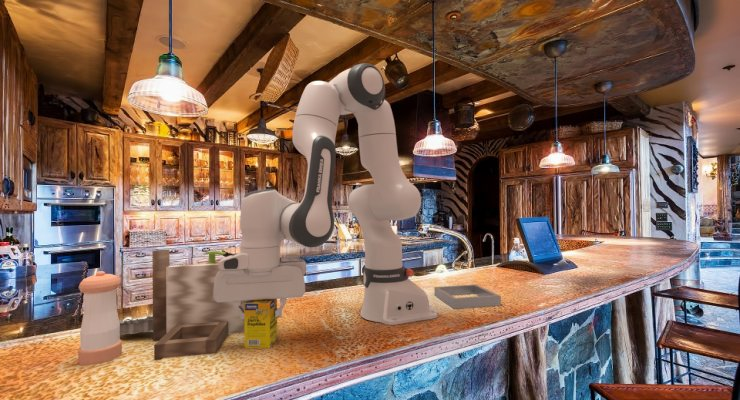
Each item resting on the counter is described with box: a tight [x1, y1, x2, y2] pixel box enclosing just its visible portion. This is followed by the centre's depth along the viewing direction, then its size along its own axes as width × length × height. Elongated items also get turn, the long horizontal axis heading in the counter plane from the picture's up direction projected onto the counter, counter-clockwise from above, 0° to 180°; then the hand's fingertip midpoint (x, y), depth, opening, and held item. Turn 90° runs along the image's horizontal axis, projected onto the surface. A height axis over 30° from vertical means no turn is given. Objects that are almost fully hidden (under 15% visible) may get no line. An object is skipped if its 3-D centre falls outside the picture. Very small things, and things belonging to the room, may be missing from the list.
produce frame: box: [433, 284, 502, 310], centre depth 113 cm, size 16×16×3 cm
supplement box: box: [243, 299, 278, 349], centre depth 78 cm, size 6×6×11 cm
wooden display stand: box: [151, 249, 248, 361], centre depth 80 cm, size 28×16×22 cm, turn 101°
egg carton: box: [119, 315, 153, 336], centre depth 86 cm, size 11×8×4 cm
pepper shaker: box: [77, 270, 123, 366], centre depth 72 cm, size 7×7×19 cm
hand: (261, 318), depth 78 cm, fingers closed on supplement box, 6 cm apart
